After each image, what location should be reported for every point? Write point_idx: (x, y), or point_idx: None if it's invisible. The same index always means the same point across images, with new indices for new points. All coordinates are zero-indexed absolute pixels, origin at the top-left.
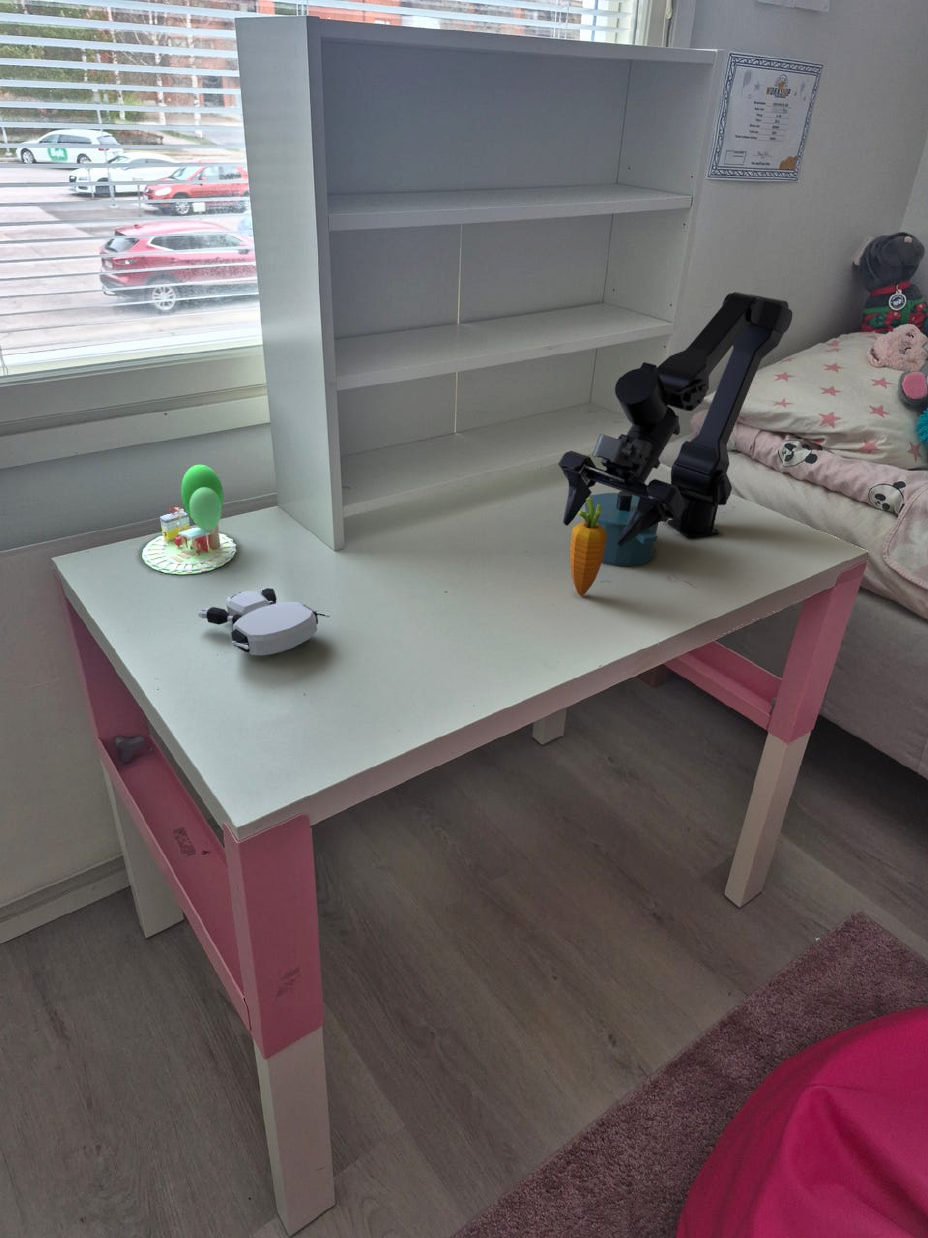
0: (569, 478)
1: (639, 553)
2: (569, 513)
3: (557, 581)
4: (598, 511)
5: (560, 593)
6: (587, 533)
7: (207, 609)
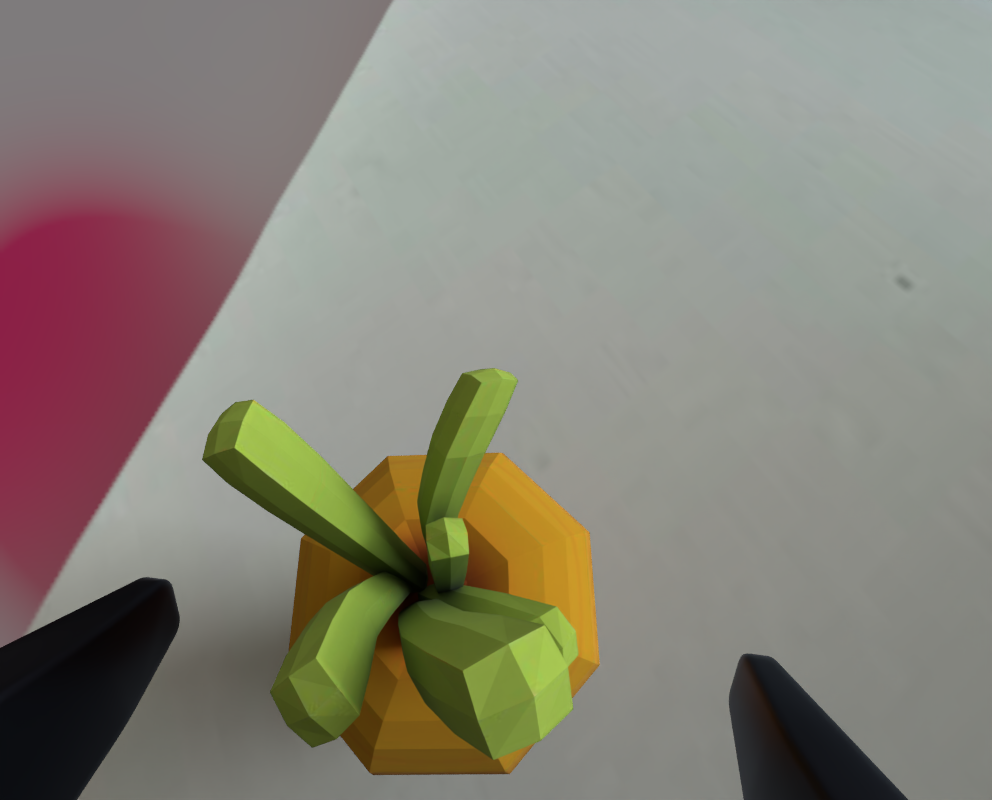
0: None
1: None
2: (780, 729)
3: (645, 667)
4: (227, 427)
5: None
6: (406, 469)
7: None
